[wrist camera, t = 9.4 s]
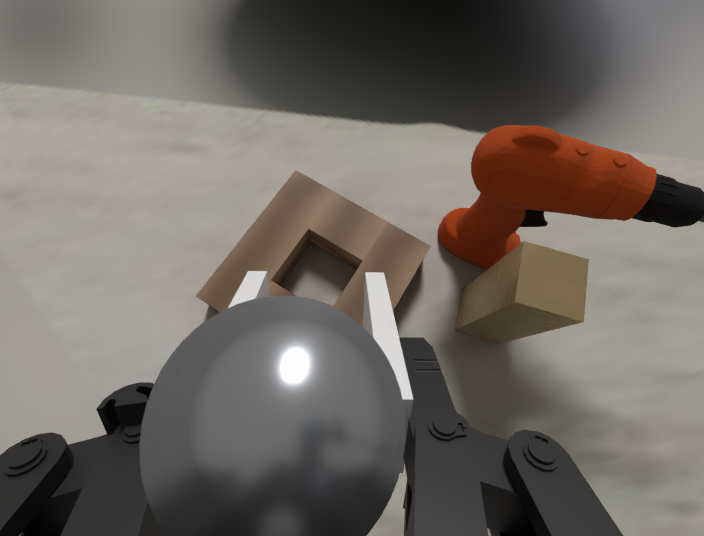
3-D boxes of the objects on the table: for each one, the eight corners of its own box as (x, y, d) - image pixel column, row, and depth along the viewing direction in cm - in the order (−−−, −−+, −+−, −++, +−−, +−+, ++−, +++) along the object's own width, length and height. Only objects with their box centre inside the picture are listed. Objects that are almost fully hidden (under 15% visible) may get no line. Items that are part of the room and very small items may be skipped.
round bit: (375, 381, 17) (448, 373, 6) (333, 460, 16) (316, 655, 4) (306, 339, 17) (244, 255, 6) (260, 413, 16) (80, 479, 5)
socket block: (422, 258, 32) (430, 246, 30) (343, 392, 28) (344, 393, 26) (299, 187, 34) (295, 170, 32) (209, 304, 30) (195, 296, 28)
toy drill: (640, 324, 30) (868, 254, 16) (429, 251, 34) (463, 144, 20) (648, 275, 31) (862, 171, 17) (445, 210, 35) (486, 85, 21)
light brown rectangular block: (505, 300, 31) (588, 259, 21) (499, 343, 30) (583, 321, 20) (463, 288, 32) (523, 241, 21) (454, 330, 30) (515, 301, 20)
